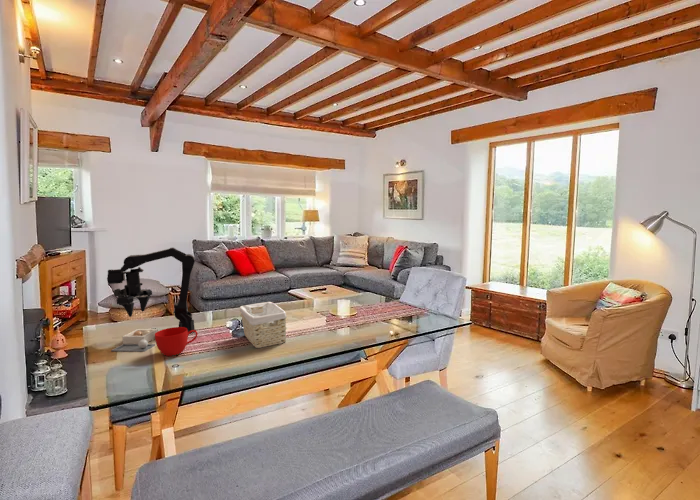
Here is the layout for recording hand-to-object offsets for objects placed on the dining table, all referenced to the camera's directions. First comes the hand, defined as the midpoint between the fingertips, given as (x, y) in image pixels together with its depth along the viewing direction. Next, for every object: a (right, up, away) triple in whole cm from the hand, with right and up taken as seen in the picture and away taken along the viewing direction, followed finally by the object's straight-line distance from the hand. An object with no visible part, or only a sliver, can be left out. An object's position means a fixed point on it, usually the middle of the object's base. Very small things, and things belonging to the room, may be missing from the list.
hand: (136, 313), depth 198 cm
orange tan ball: (0, -12, 0) cm, 12 cm away
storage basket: (+63, -11, -6) cm, 64 cm away
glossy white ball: (+10, -14, -13) cm, 21 cm away
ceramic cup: (+28, -14, -19) cm, 37 cm away
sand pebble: (+4, -11, -1) cm, 12 cm away
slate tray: (+5, -14, -12) cm, 19 cm away
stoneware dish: (+2, -13, 0) cm, 13 cm away
